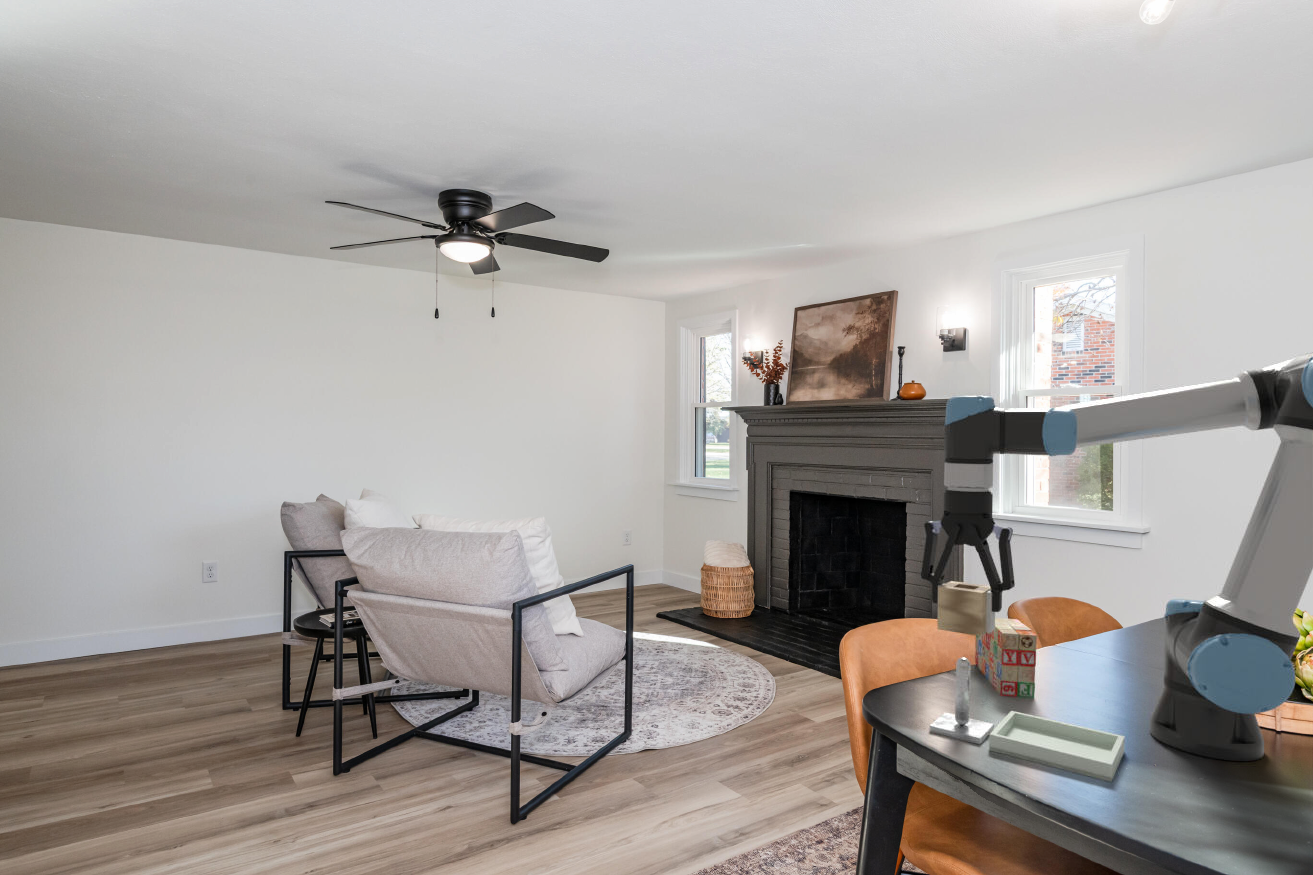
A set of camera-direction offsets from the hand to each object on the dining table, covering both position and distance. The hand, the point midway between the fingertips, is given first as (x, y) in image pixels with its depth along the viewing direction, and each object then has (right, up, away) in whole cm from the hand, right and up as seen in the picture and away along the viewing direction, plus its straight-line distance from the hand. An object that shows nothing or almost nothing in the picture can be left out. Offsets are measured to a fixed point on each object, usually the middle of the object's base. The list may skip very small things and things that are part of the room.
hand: (965, 626), depth 127 cm
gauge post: (-1, -17, 0) cm, 17 cm away
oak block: (0, 0, 0) cm, 0 cm away
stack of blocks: (+19, -18, +28) cm, 39 cm away
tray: (+11, -18, -7) cm, 22 cm away
